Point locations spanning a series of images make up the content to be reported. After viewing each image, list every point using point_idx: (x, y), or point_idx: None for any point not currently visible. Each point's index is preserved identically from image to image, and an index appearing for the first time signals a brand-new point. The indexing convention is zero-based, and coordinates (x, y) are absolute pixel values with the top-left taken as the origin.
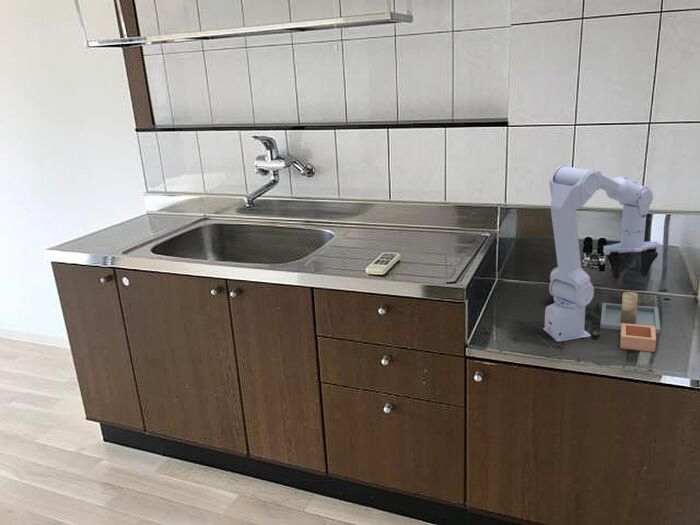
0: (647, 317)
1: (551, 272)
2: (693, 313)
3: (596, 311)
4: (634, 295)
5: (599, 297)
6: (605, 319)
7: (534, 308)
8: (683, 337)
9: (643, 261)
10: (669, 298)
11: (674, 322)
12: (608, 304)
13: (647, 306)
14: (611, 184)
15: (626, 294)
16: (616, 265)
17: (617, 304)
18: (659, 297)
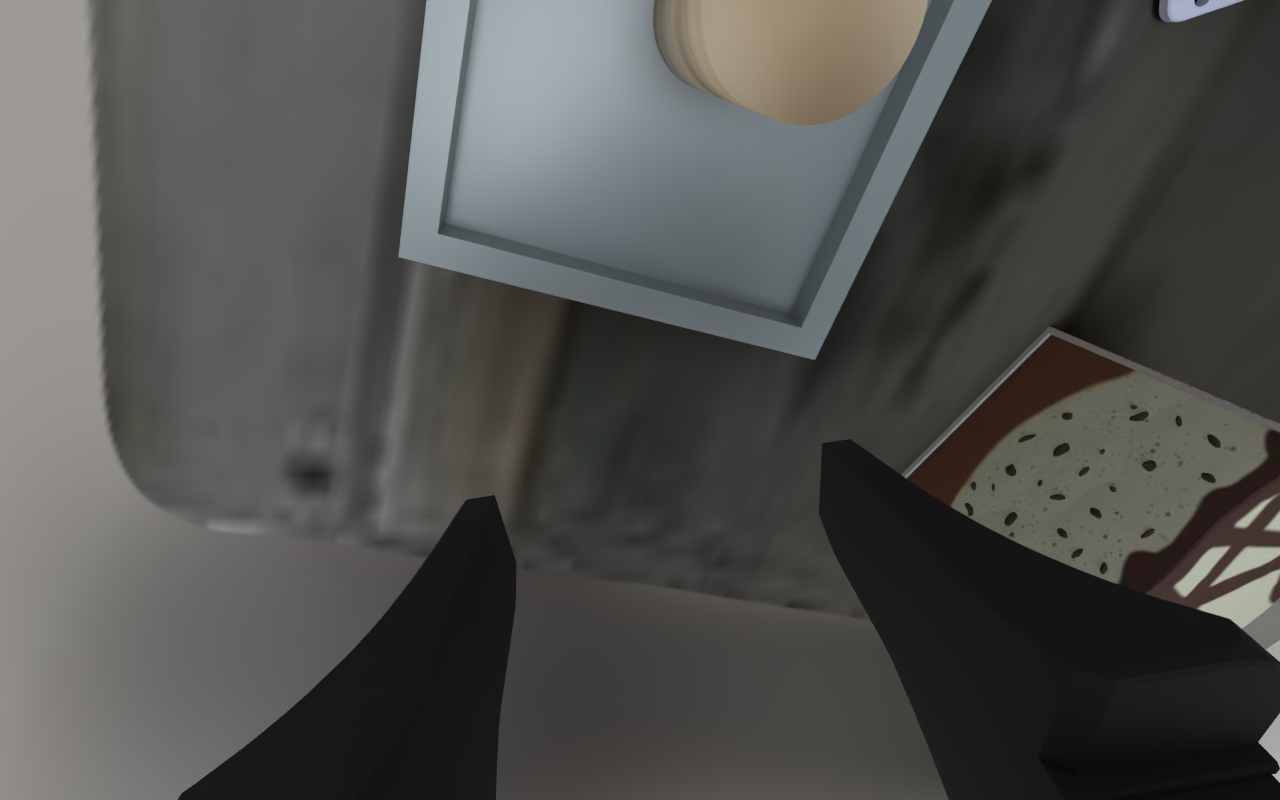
0: (519, 115)
1: (1276, 615)
2: (105, 227)
3: (857, 291)
4: None
5: (743, 500)
6: (887, 90)
7: (1224, 350)
8: None
9: (478, 713)
10: (287, 487)
11: (285, 29)
12: (784, 327)
13: (486, 277)
14: None
15: (878, 2)
16: (1005, 555)
17: (716, 325)
18: (355, 501)
